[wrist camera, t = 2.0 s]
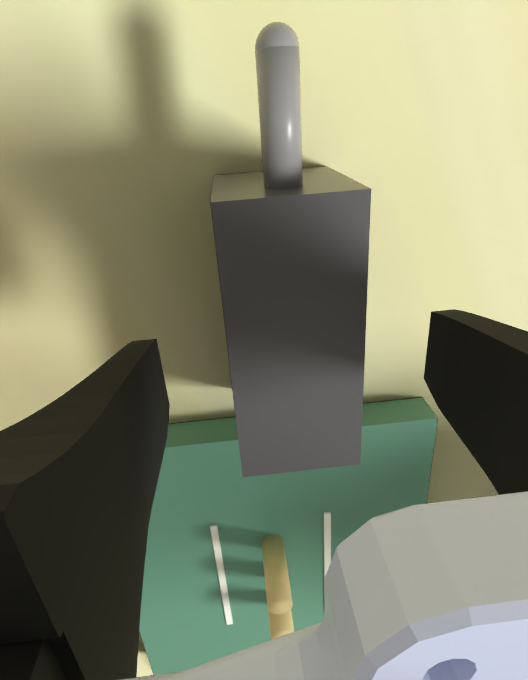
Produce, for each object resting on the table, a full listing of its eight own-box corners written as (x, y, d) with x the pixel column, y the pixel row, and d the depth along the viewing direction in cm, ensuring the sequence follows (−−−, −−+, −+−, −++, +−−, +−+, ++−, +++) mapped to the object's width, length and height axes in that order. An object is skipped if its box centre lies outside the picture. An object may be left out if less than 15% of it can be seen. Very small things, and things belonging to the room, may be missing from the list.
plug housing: (325, 39, 13) (378, 2, 9) (327, 380, 19) (360, 464, 14) (199, 48, 13) (188, 15, 9) (237, 389, 18) (242, 477, 14)
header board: (422, 397, 19) (475, 471, 15) (397, 623, 27) (429, 713, 23) (93, 432, 19) (58, 518, 15) (159, 653, 26) (148, 751, 22)
